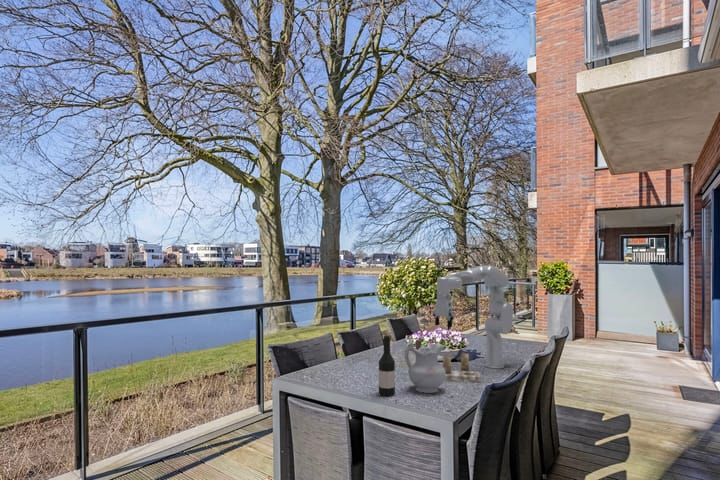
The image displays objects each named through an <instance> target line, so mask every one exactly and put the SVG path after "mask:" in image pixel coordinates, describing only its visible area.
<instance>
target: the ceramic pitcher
mask: <svg viewBox="0 0 720 480" xmlns="http://www.w3.org/2000/svg"><path fill="white" fill-rule="evenodd" d="M444 350H445V348H444V345H442V344H438V343H435V342H434V343H432V344H430V345H429V346H424V345H421V347H420V348H419V350H417V349H416V347H414V343H408V344H407V346H406V347H405V349H404V360H405V363H406V366H407V367H408V375H409V376H408V377H409V380H410V381H411V383H412V384H413V385H414V386H415V387H416V388H415V391H416V392H418V391H420V392H419V393H422V392H424V393H423V394H431V393H432V394H433V393H439V392H441V390H440V389H439V388H438V387H440V386H442V385H443V383H444V382H445V381H444V379H445V369H444V368H443V364H440V363H439V361H438V357H439V353H440V352H442V351H444ZM411 351H412V352H413V353H414V354H415V362H414V363H413V364H411V361H410V360H411V359H410V358H409V352H411Z"/></svg>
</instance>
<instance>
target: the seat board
mask: <svg viewBox="0 0 720 480" xmlns="http://www.w3.org/2000/svg"><path fill="white" fill-rule="evenodd" d="M451 361H452V359H451V356H443V357H442V366H443V368H444V369H445V379H444V382H461V383H462V382H463V383H481V382H482V380H481V379H482V378H481V374H480V372H479V371H470V370H469V371H461V370H452V368H451V367H452V366H451V365H452V362H451Z"/></svg>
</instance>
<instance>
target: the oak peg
mask: <svg viewBox="0 0 720 480" xmlns="http://www.w3.org/2000/svg"><path fill="white" fill-rule="evenodd" d="M460 356H461V358H460V359H461V360H460V363H461V364H460V365H461V367H460V371H470V365H469V364H470V362H469V361H470V360H469V359H470V356H469V353H467V352H466V353H461V354H460Z"/></svg>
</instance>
